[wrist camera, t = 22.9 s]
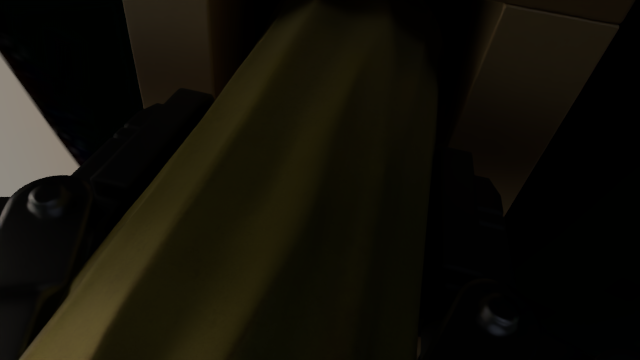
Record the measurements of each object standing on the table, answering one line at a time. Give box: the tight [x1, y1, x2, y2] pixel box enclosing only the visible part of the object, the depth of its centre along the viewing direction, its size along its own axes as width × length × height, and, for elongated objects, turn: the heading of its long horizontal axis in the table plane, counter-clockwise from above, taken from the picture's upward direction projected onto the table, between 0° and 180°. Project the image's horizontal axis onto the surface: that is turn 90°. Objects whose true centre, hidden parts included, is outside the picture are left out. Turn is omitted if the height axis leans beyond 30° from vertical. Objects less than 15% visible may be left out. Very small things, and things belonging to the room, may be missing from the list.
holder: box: [122, 0, 635, 358], centre depth 17 cm, size 22×12×4 cm, turn 173°
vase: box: [19, 0, 445, 360], centre depth 9 cm, size 6×6×14 cm
